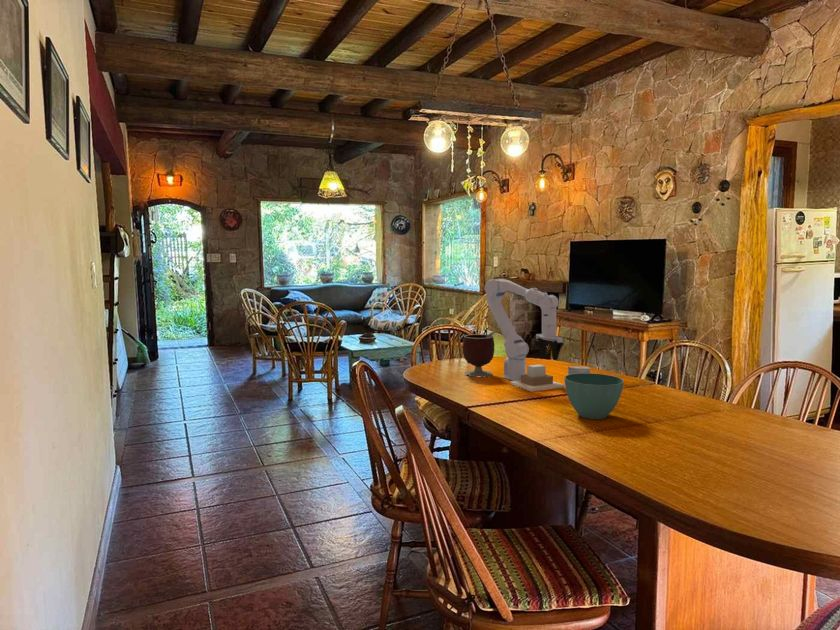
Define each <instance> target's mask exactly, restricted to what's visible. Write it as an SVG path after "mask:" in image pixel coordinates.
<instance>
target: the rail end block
mask: <svg viewBox="0 0 840 630" xmlns="http://www.w3.org/2000/svg"><path fill="white" fill-rule="evenodd" d="M546 368H547V367H546V365H543V364H532V365H531V364H529V365H526V371H527V372H526V374H527V376H529V377H533V378H536V377H544V376H545V375H546V370H547V369H546Z"/></svg>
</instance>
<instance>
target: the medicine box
mask: <svg viewBox="0 0 840 630" xmlns="http://www.w3.org/2000/svg"><path fill="white" fill-rule="evenodd" d="M577 373H591V368H590V367H589V366H567V375H570V374H577Z"/></svg>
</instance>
